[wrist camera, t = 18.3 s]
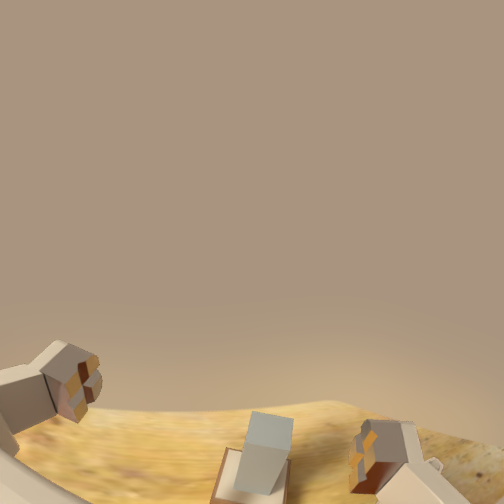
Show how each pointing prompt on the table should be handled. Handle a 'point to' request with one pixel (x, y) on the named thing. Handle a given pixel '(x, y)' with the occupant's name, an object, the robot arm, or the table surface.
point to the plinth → (230, 500)
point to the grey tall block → (263, 453)
